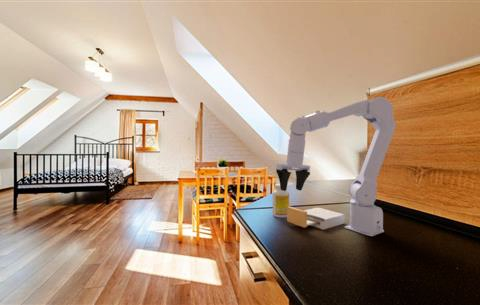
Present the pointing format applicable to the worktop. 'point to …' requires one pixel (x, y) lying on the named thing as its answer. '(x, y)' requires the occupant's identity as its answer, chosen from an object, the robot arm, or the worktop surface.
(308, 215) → the dispenser
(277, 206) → the supplement bottle
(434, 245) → the worktop surface
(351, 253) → the worktop surface
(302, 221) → the tan and white l-shape
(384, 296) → the worktop surface
